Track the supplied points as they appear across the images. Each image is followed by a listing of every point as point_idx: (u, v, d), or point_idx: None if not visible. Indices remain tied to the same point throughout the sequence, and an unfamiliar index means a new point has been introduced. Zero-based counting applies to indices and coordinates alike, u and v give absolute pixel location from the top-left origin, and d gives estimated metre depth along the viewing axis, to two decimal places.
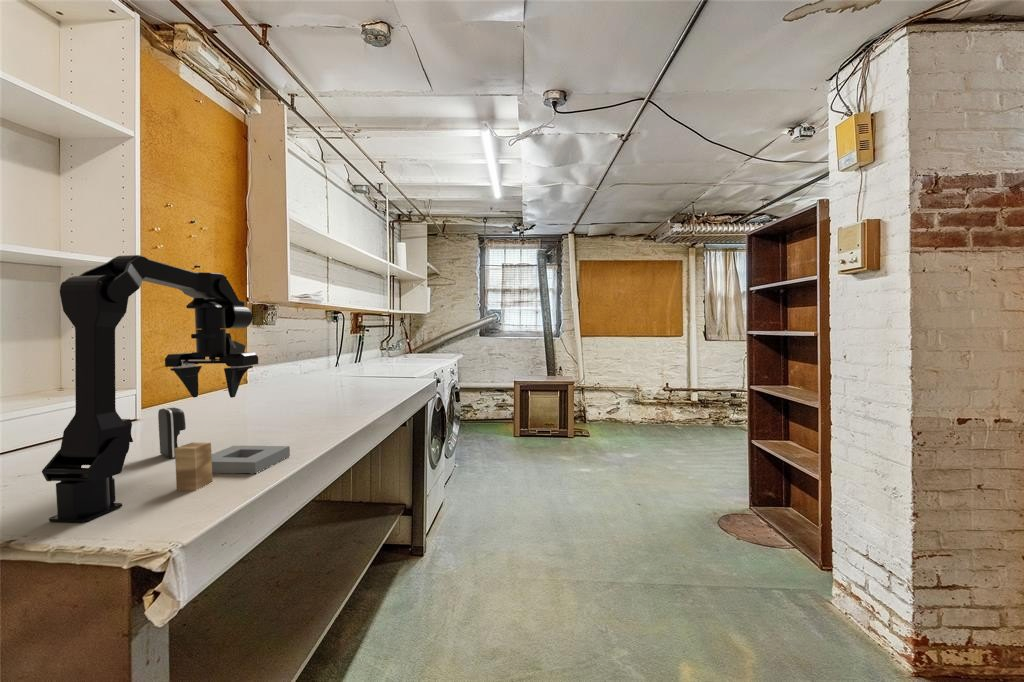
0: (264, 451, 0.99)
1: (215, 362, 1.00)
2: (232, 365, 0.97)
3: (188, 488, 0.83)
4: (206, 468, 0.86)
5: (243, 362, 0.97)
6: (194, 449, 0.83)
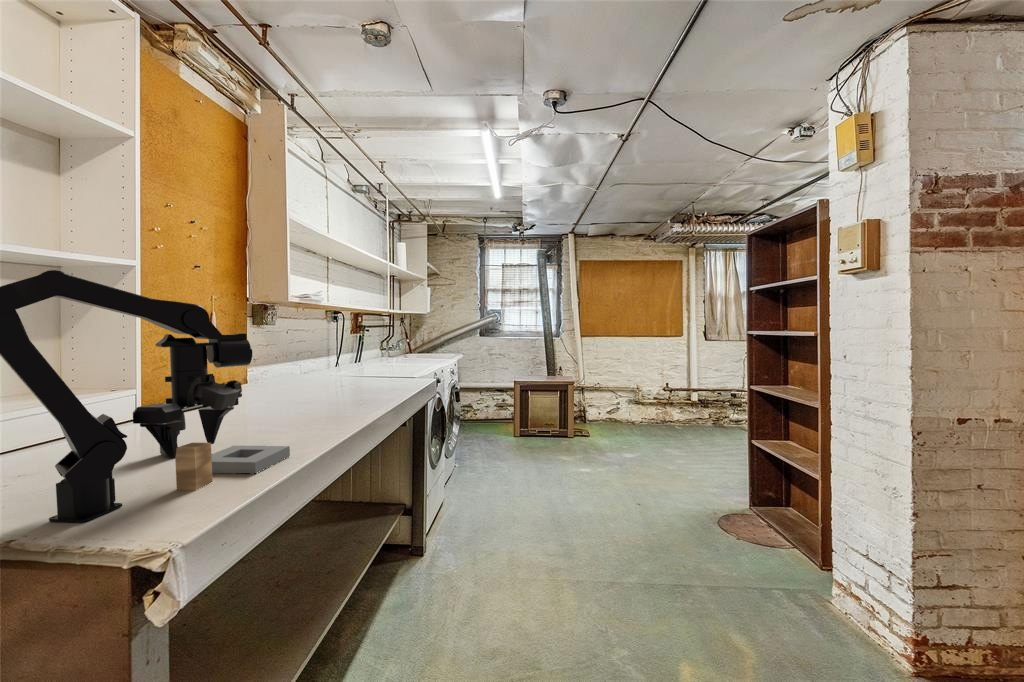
0: (264, 451, 0.99)
1: None
2: None
3: (188, 488, 0.83)
4: (206, 468, 0.86)
5: (133, 418, 0.76)
6: (194, 449, 0.83)
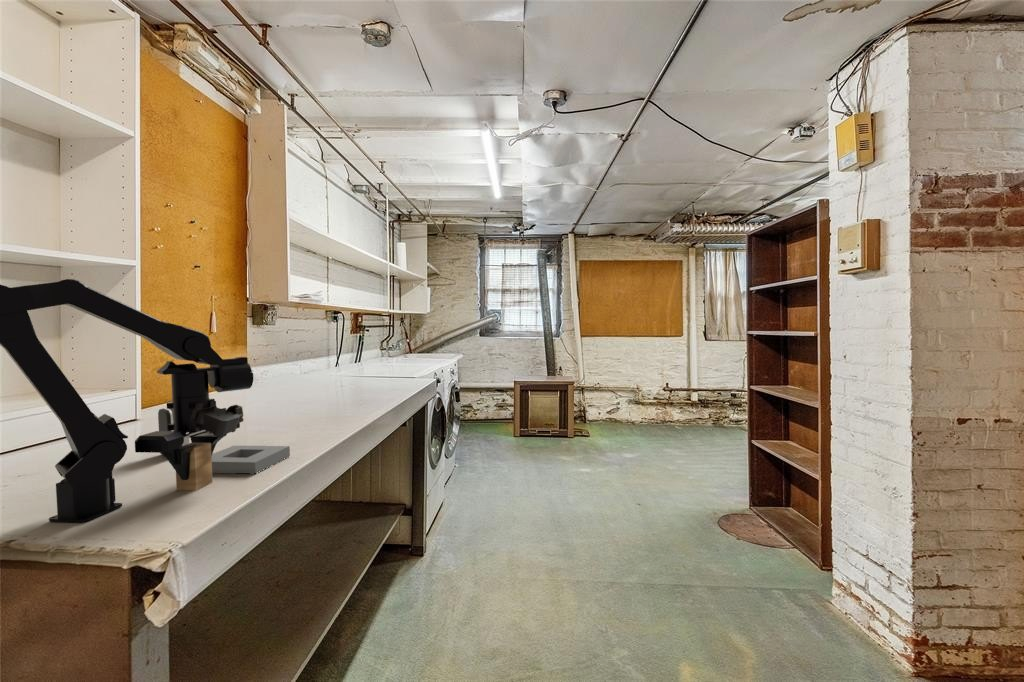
0: (264, 451, 0.99)
1: None
2: None
3: (188, 488, 0.83)
4: (206, 468, 0.86)
5: (135, 447, 0.76)
6: (194, 449, 0.83)
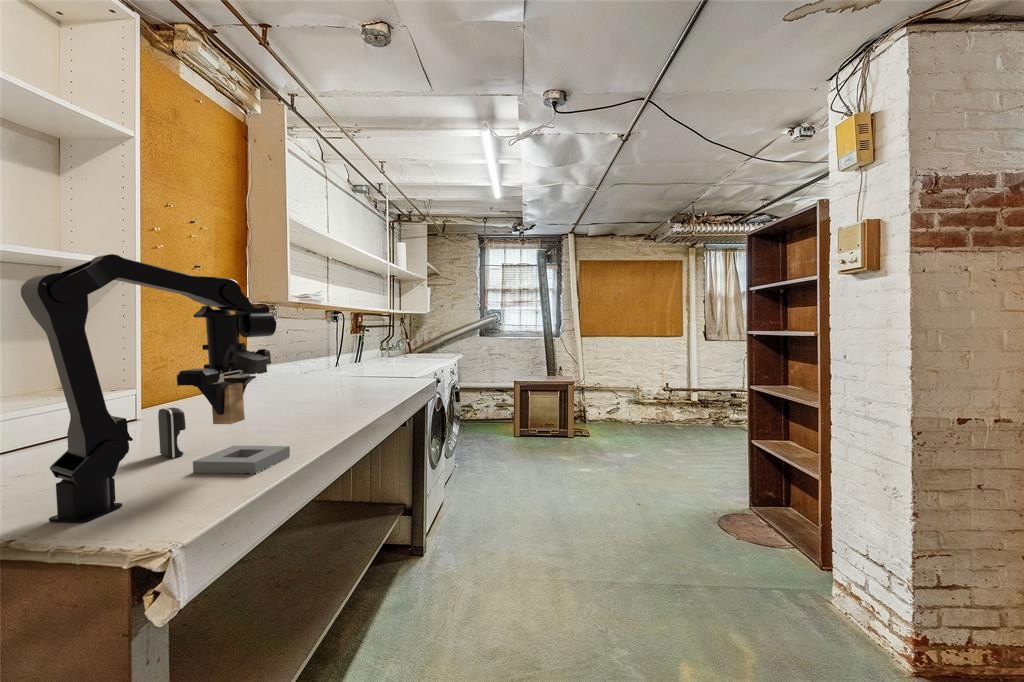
0: (264, 451, 0.99)
1: None
2: None
3: (223, 422, 0.91)
4: (239, 405, 0.94)
5: (177, 380, 0.84)
6: (228, 386, 0.91)
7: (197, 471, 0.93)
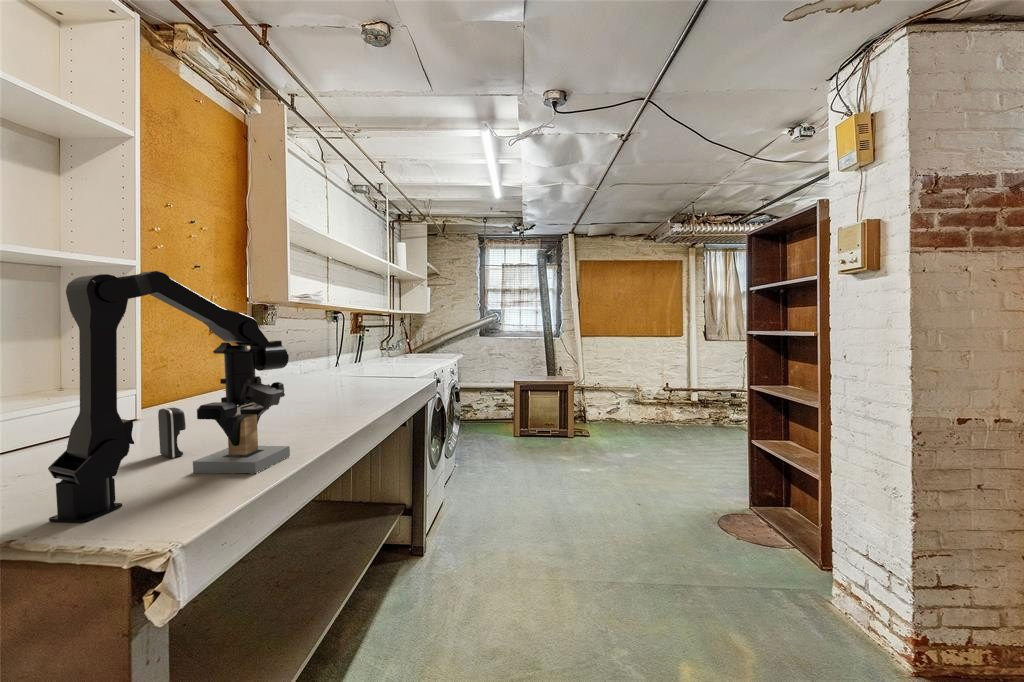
0: (264, 451, 0.99)
1: None
2: None
3: (239, 453, 0.96)
4: (253, 436, 0.98)
5: (197, 414, 0.89)
6: (244, 419, 0.96)
7: (197, 471, 0.93)
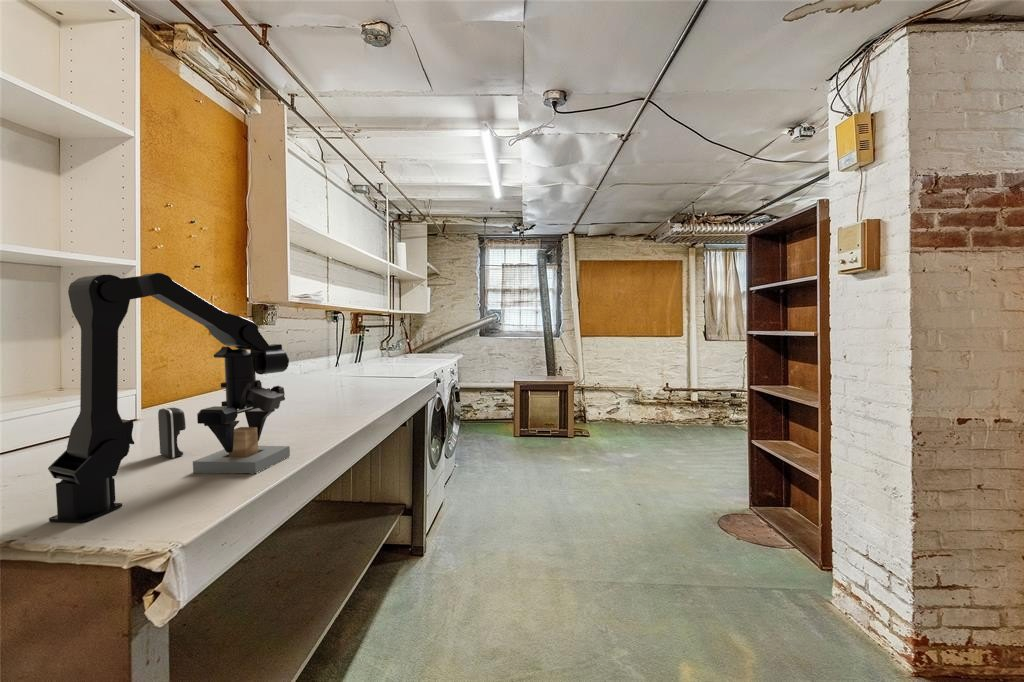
0: (264, 451, 0.99)
1: None
2: None
3: None
4: (254, 449, 0.98)
5: (197, 419, 0.89)
6: (245, 432, 0.96)
7: (197, 471, 0.93)
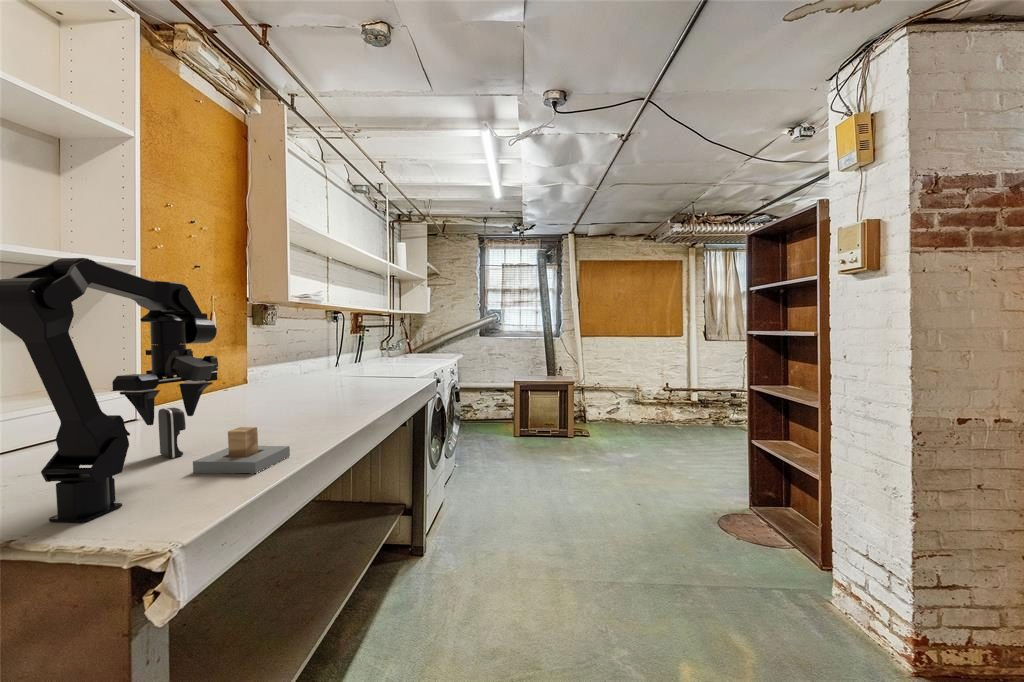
0: (264, 451, 0.99)
1: None
2: None
3: None
4: (254, 449, 0.98)
5: None
6: (245, 432, 0.96)
7: (197, 471, 0.93)
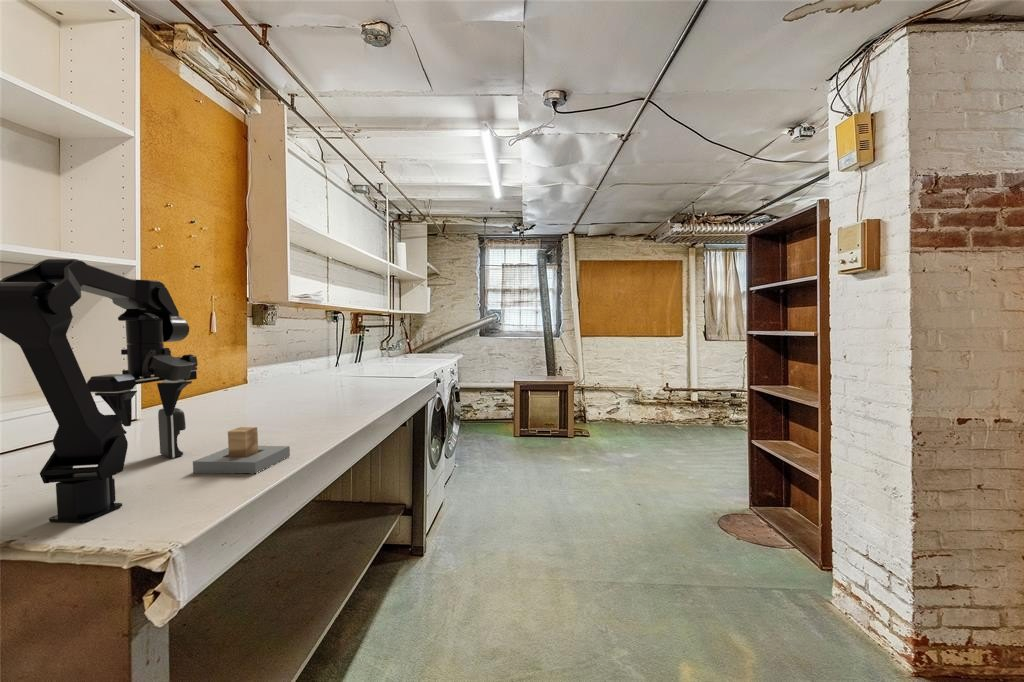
0: (264, 451, 0.99)
1: None
2: None
3: None
4: (254, 449, 0.98)
5: None
6: (245, 432, 0.96)
7: (197, 471, 0.93)
